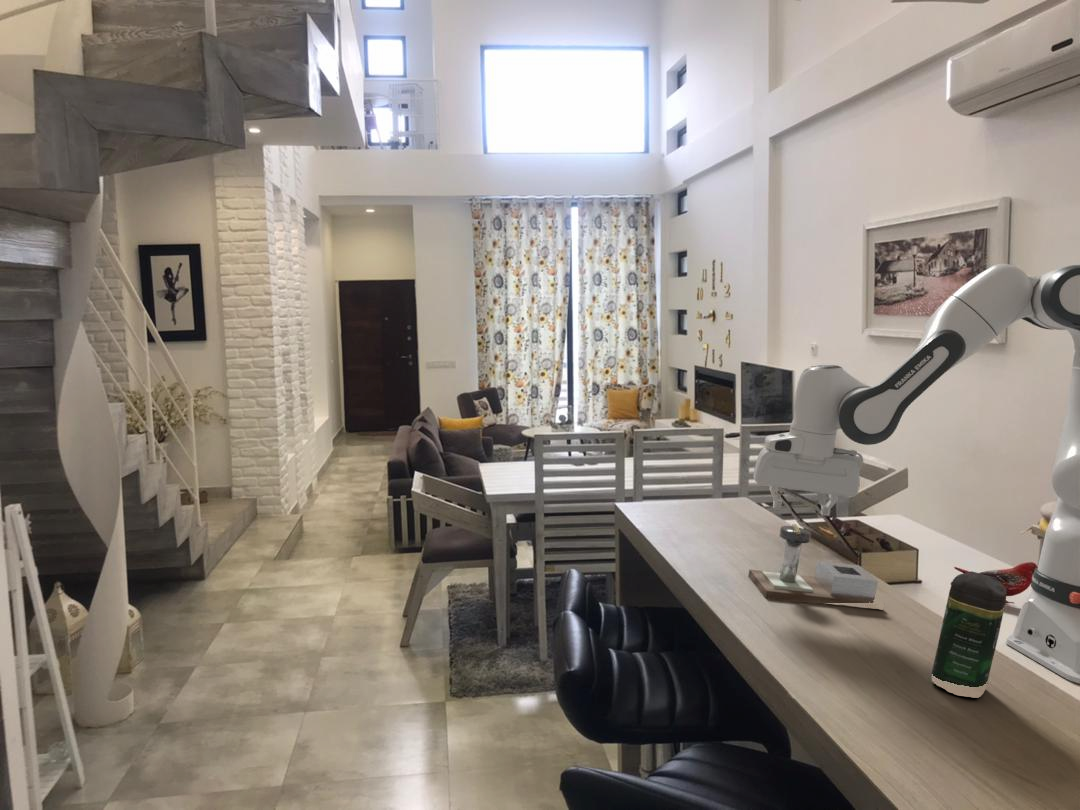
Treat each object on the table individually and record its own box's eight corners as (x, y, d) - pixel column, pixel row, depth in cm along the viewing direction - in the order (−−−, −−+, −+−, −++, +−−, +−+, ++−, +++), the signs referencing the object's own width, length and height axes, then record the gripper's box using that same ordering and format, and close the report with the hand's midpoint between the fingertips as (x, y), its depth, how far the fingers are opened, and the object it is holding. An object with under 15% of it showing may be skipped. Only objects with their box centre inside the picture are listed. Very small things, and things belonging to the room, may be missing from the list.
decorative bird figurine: (1037, 611, 172) (1047, 566, 170) (950, 596, 174) (959, 552, 173) (1031, 606, 175) (1041, 562, 173) (946, 591, 177) (954, 548, 176)
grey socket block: (874, 599, 161) (877, 580, 161) (830, 595, 161) (834, 576, 160) (855, 583, 170) (859, 565, 170) (814, 578, 170) (817, 560, 169)
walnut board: (883, 610, 160) (885, 600, 160) (765, 598, 159) (767, 587, 159) (858, 588, 172) (860, 578, 172) (748, 576, 171) (749, 566, 171)
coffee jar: (981, 707, 123) (1006, 592, 121) (926, 687, 128) (948, 576, 125) (988, 686, 131) (1012, 578, 129) (936, 668, 136) (957, 563, 133)
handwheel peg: (799, 577, 168) (808, 526, 166) (804, 587, 162) (814, 534, 160) (770, 572, 168) (779, 521, 167) (774, 582, 162) (783, 529, 161)
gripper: (860, 448, 163) (850, 514, 164) (757, 435, 165) (748, 501, 167) (868, 454, 156) (857, 522, 158) (761, 440, 159) (751, 508, 161)
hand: (800, 511), depth 163 cm, fingers open, 8 cm apart
